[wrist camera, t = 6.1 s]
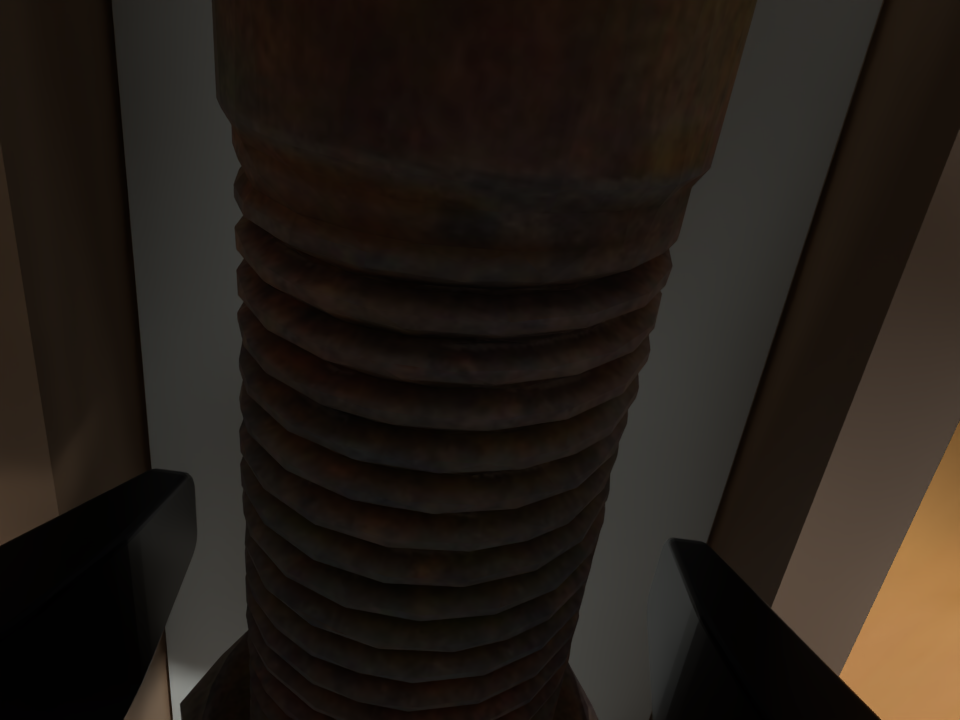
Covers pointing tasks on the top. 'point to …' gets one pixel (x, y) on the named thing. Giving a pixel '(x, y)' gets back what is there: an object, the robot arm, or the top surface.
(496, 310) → the bolt
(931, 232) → the wooden tray
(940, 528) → the top surface
